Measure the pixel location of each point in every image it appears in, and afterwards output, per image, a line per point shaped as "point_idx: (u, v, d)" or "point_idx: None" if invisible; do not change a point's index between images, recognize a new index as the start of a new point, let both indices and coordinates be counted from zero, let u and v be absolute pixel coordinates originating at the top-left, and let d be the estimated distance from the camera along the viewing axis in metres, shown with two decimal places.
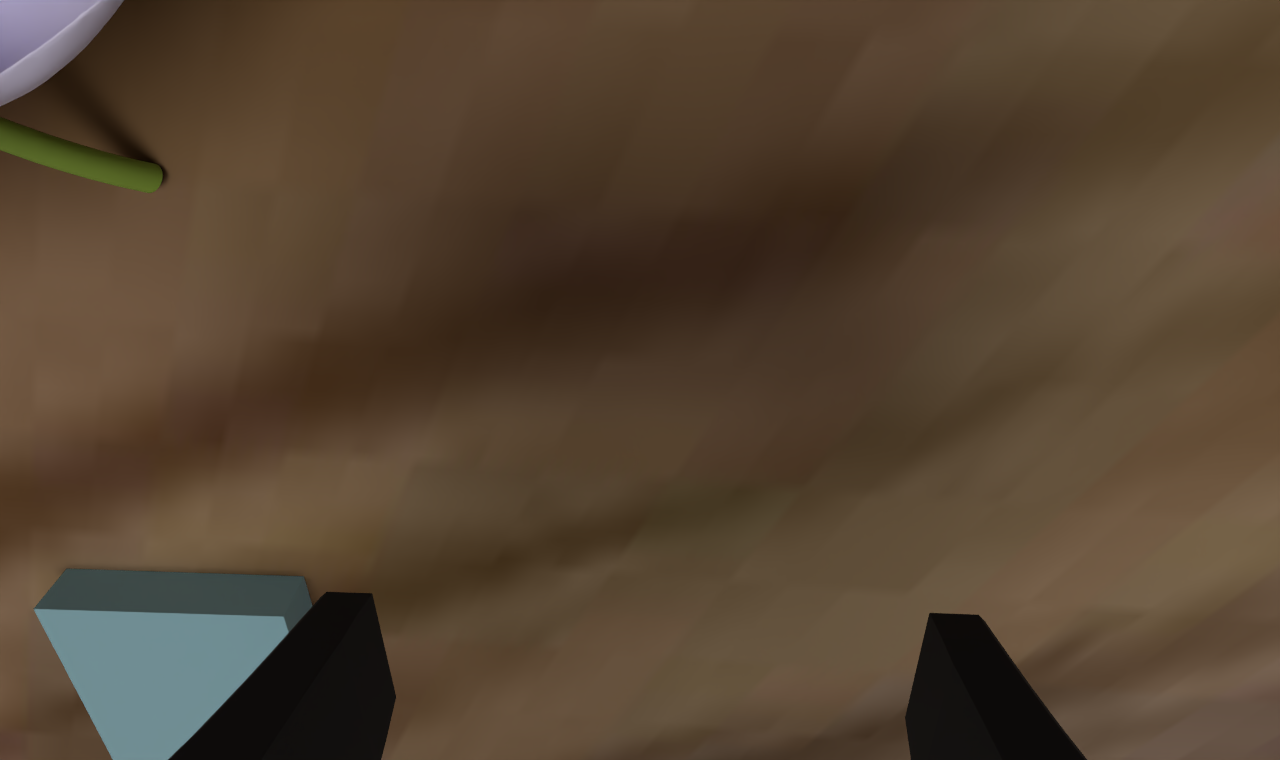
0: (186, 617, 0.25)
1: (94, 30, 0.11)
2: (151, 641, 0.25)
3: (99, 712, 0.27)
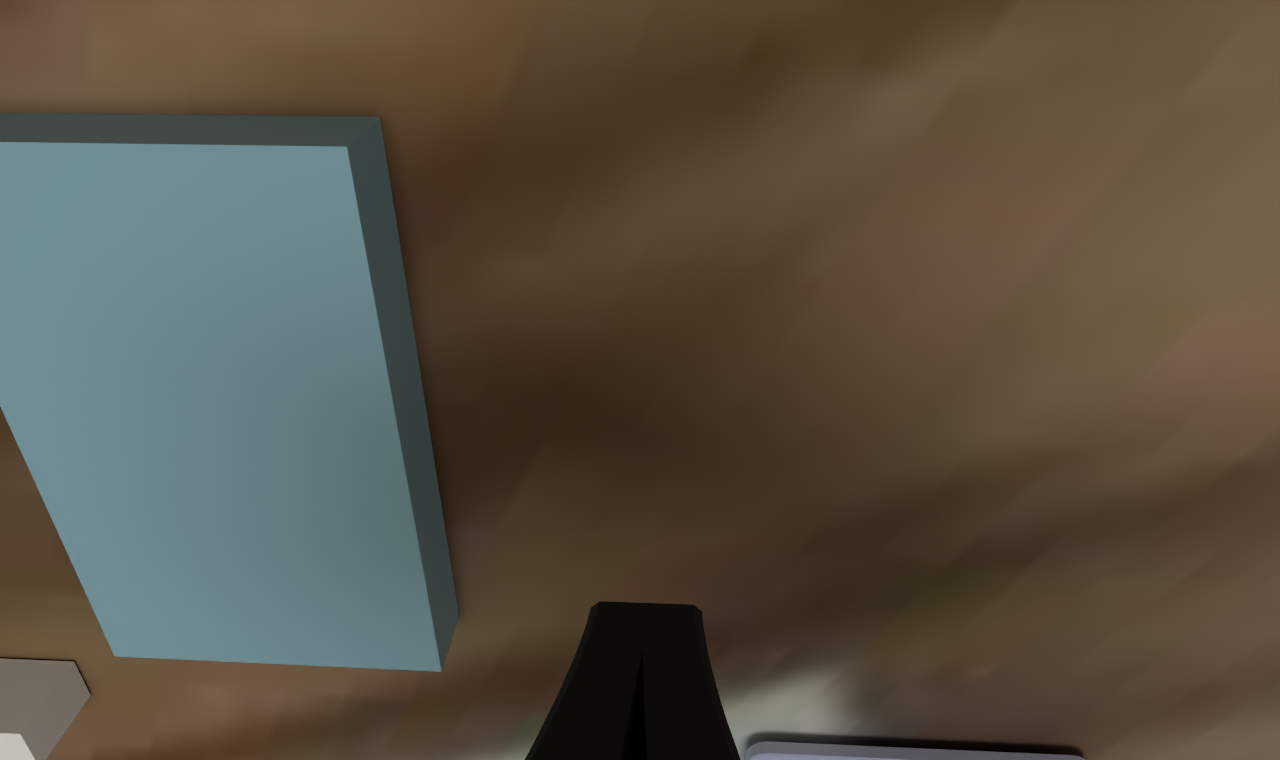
0: (163, 155, 0.13)
1: None
2: (101, 216, 0.14)
3: (14, 392, 0.15)
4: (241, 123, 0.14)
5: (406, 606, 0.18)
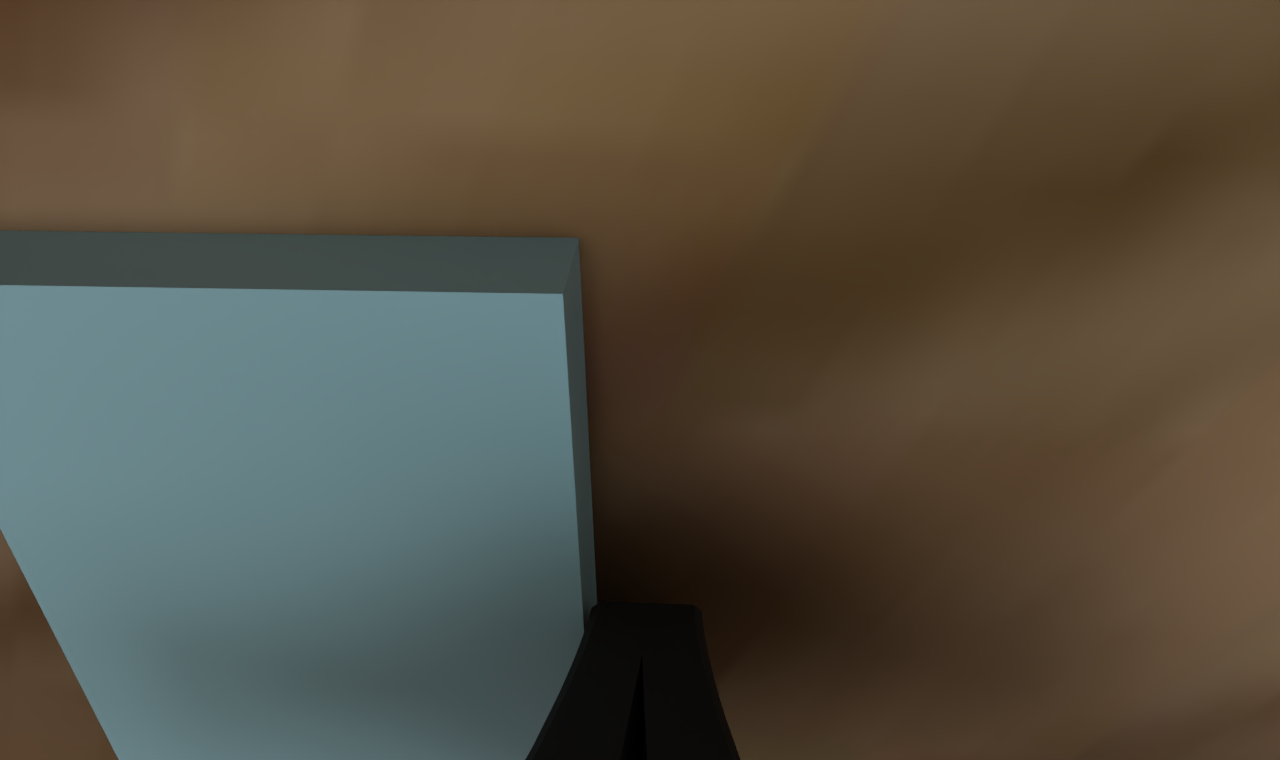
0: (288, 304, 0.09)
1: None
2: (193, 383, 0.10)
3: (61, 594, 0.11)
4: (389, 246, 0.10)
5: None
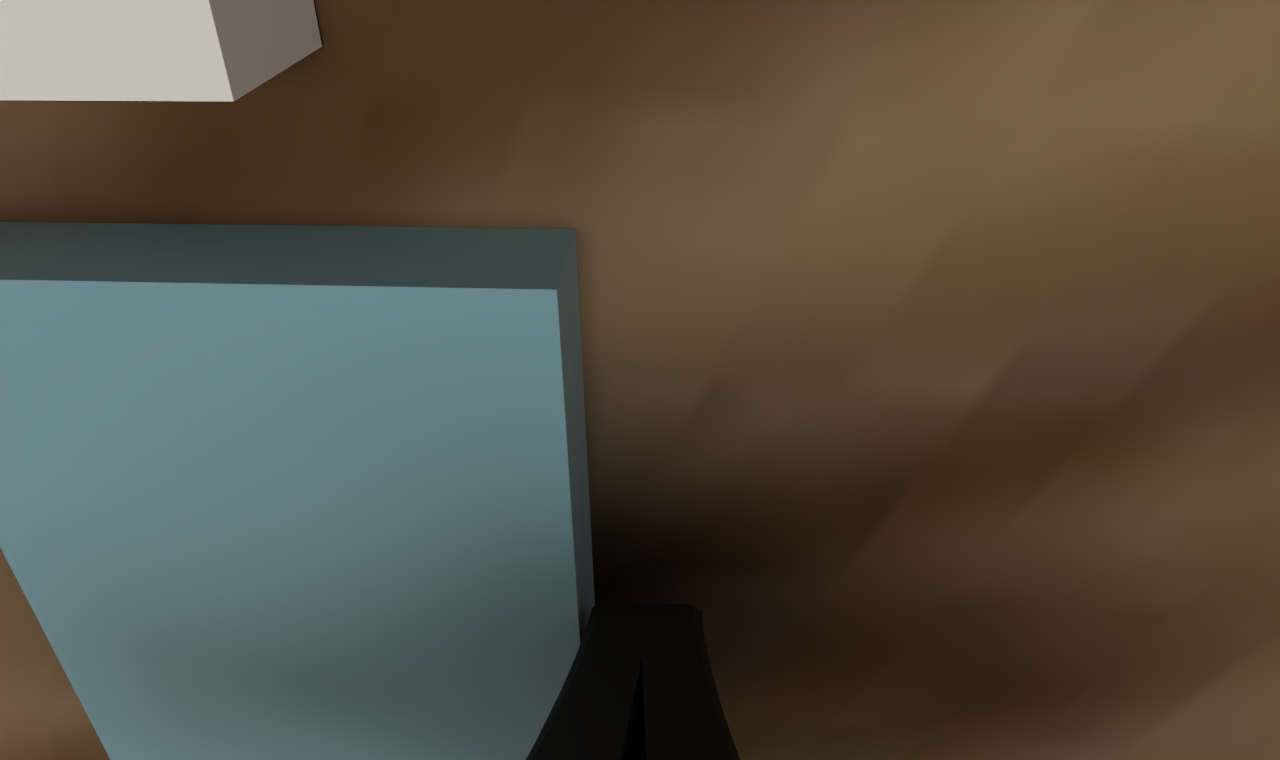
0: (278, 300, 0.09)
1: None
2: (182, 380, 0.09)
3: (52, 593, 0.11)
4: (382, 241, 0.10)
5: None
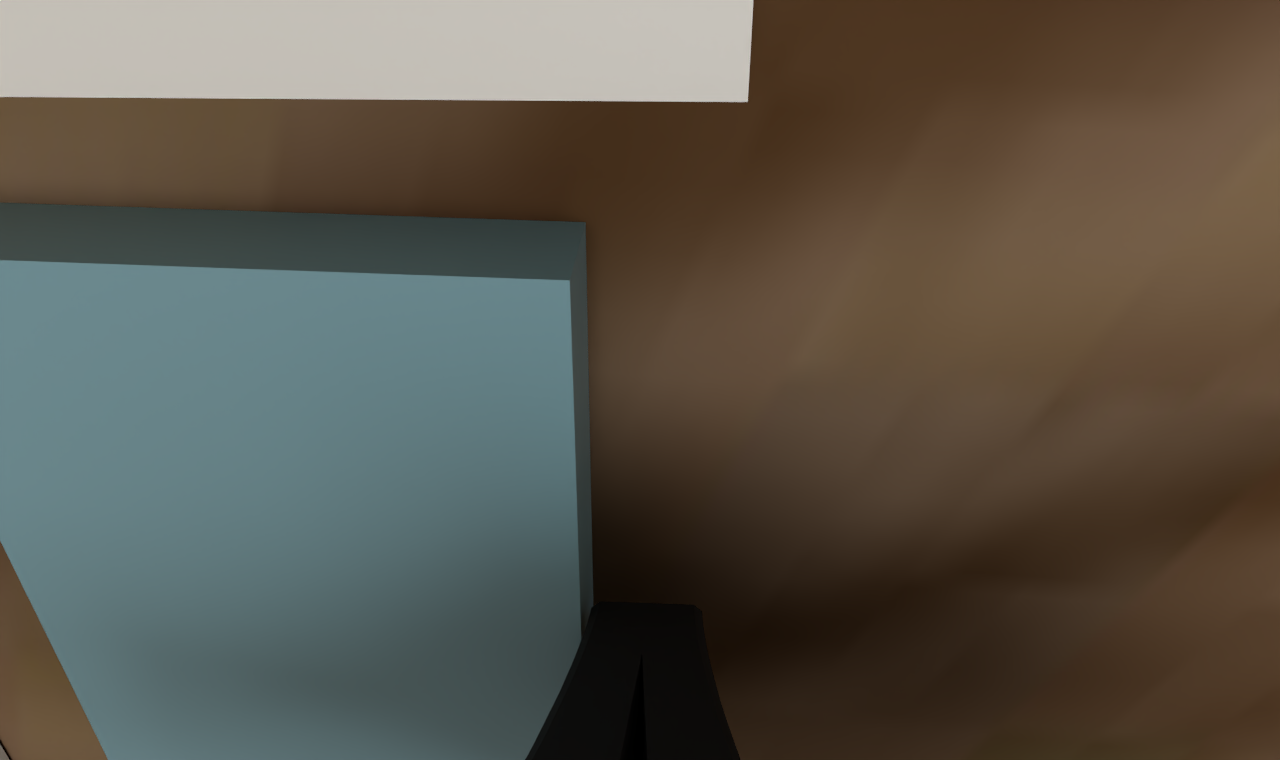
0: (288, 285, 0.09)
1: None
2: (187, 365, 0.09)
3: (47, 579, 0.11)
4: (391, 228, 0.10)
5: None
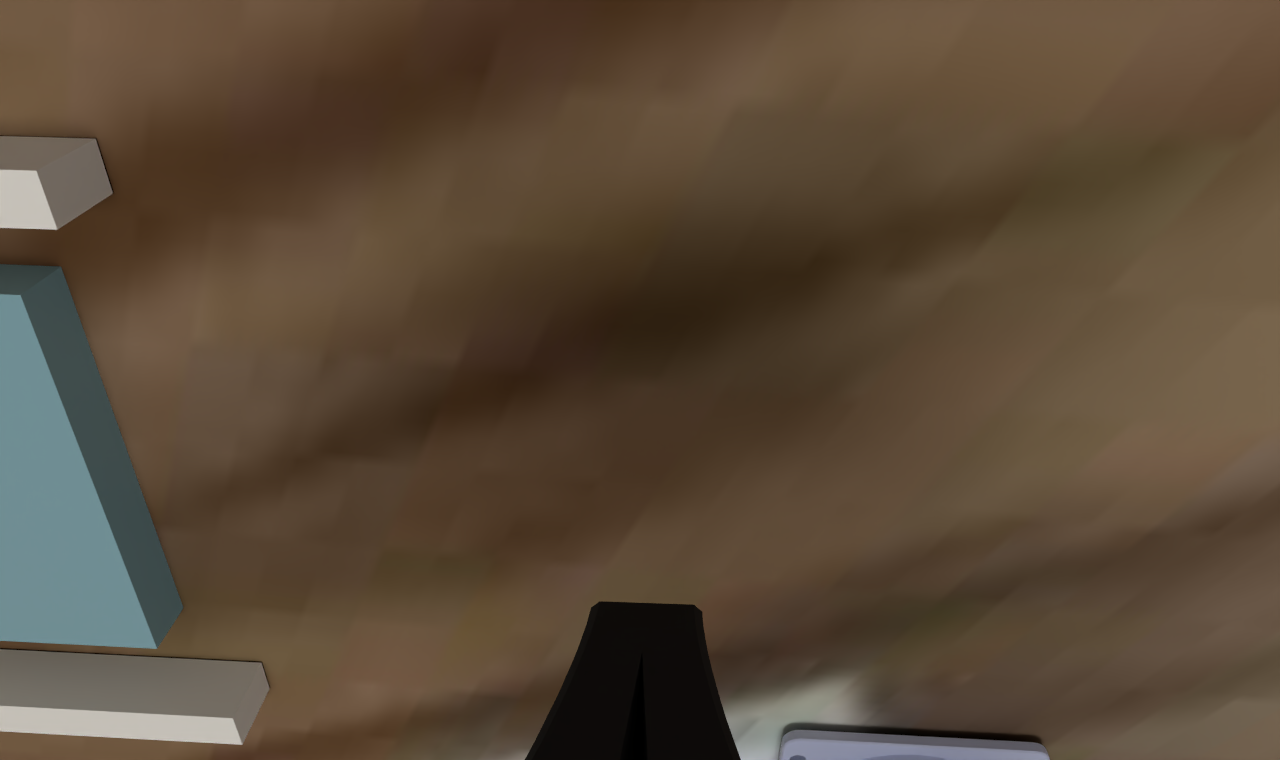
0: None
1: None
2: None
3: None
4: None
5: (121, 600, 0.24)
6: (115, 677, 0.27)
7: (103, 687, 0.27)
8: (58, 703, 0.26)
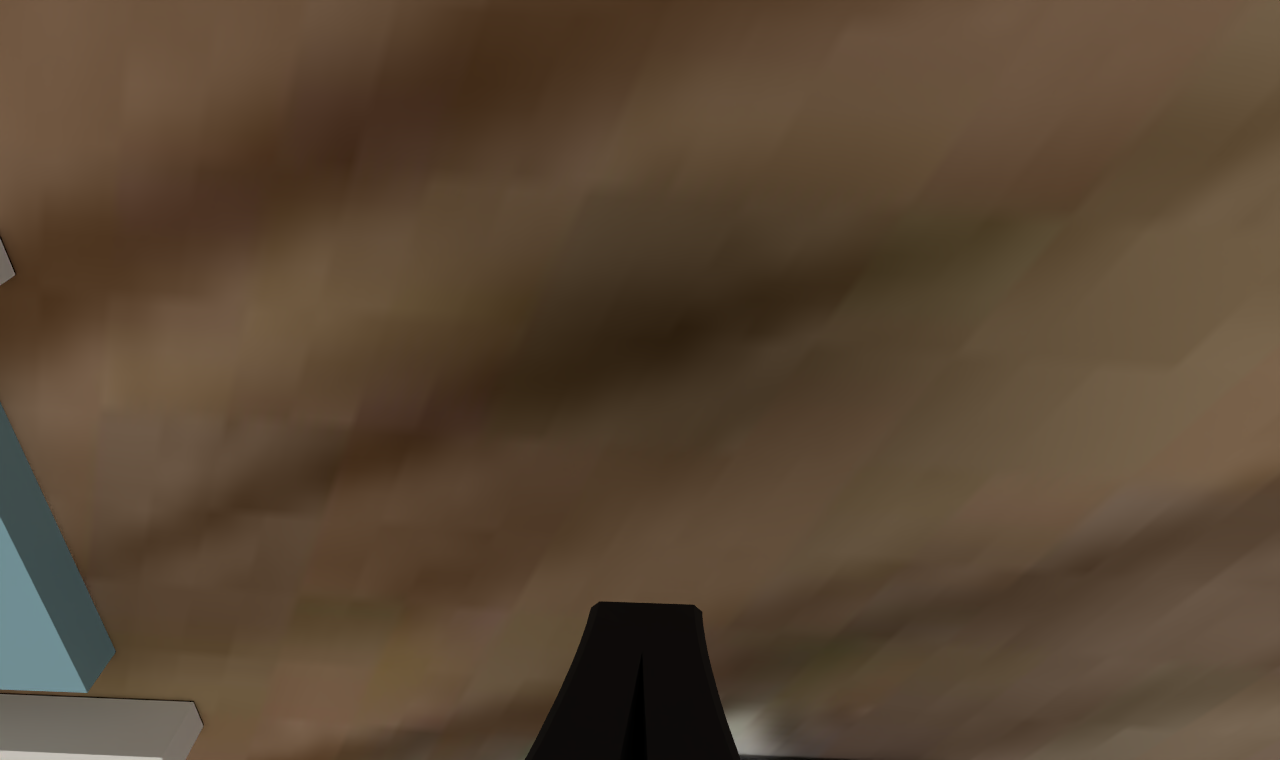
0: None
1: None
2: None
3: None
4: None
5: (49, 648, 0.25)
6: (53, 718, 0.28)
7: (41, 728, 0.28)
8: None
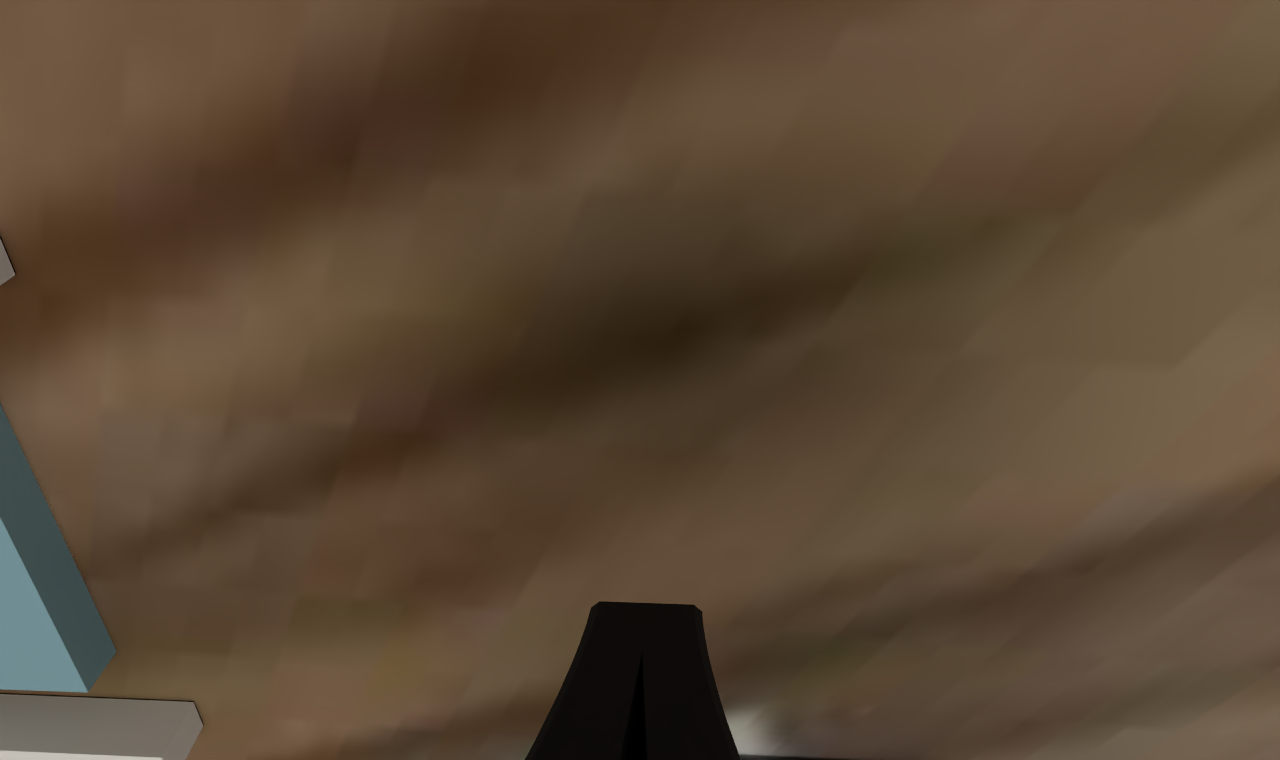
0: None
1: None
2: None
3: None
4: None
5: (49, 648, 0.25)
6: (53, 718, 0.28)
7: (41, 728, 0.28)
8: None
